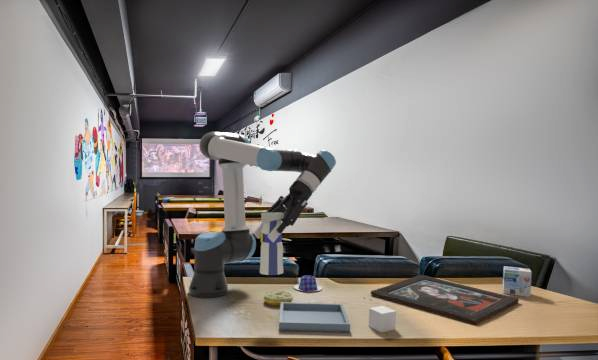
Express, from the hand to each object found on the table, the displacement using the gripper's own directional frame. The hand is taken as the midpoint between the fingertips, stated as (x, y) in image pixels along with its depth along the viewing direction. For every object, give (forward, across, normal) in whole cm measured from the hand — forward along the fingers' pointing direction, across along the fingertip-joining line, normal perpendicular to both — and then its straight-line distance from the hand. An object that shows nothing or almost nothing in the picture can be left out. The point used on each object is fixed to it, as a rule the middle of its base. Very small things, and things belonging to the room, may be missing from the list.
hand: (263, 237), depth 135 cm
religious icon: (-33, -14, -75) cm, 84 cm away
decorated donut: (+8, +16, -32) cm, 36 cm away
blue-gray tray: (+8, -6, -31) cm, 33 cm away
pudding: (-7, +25, -47) cm, 54 cm away
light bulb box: (-59, -25, -101) cm, 119 cm away
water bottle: (+6, 0, -11) cm, 12 cm away
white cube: (-2, -23, -42) cm, 48 cm away
